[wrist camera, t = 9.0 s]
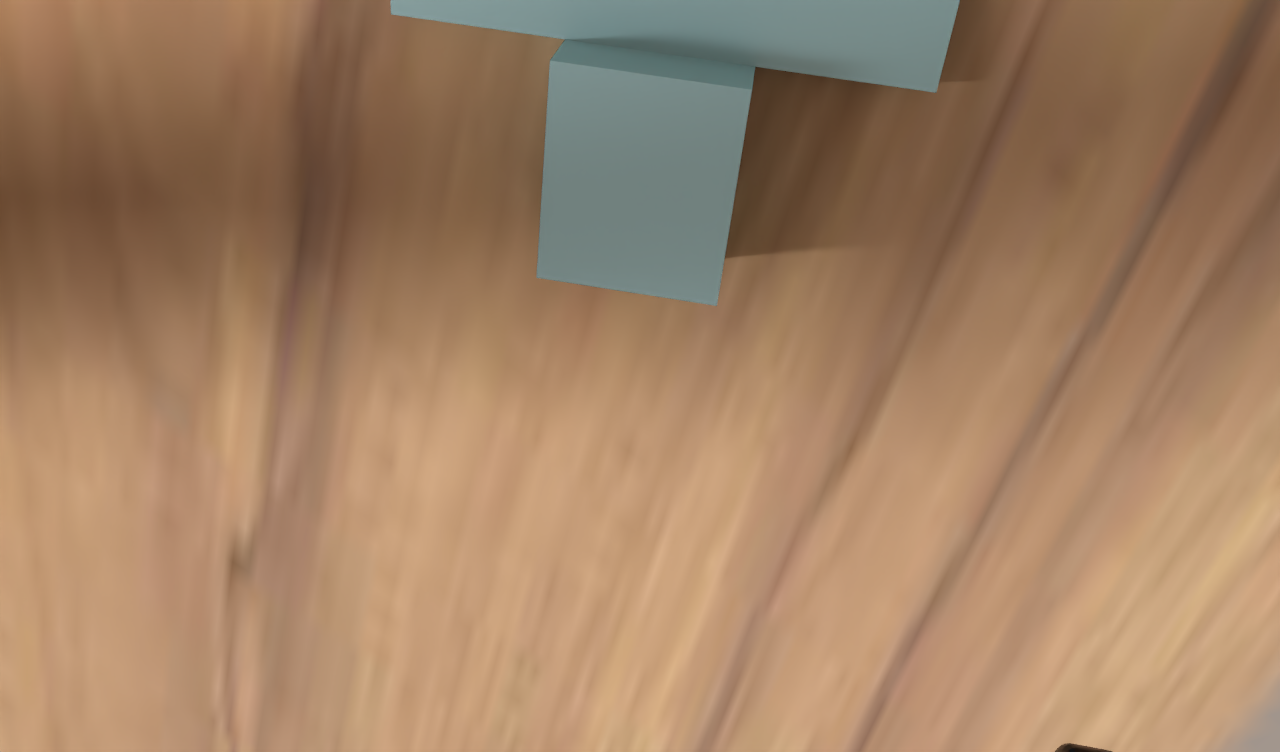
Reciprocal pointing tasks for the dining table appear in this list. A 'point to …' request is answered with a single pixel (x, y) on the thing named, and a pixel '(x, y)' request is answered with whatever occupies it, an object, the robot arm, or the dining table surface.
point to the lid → (679, 115)
